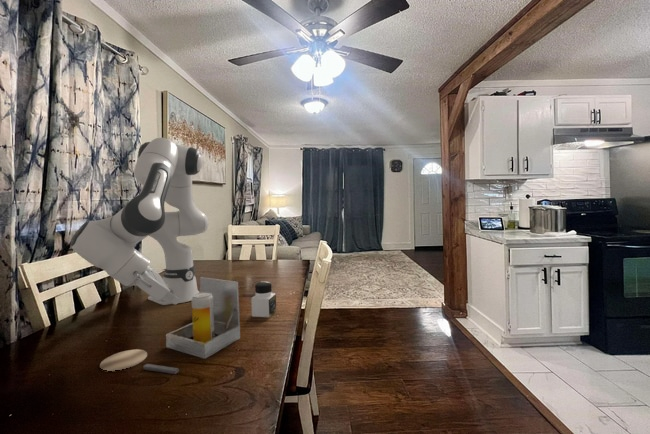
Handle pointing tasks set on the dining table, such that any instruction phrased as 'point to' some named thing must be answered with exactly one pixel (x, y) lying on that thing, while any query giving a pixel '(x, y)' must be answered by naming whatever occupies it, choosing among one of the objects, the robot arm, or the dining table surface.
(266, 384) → the dining table surface
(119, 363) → the pad
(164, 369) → the bar
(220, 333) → the case
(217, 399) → the dining table surface
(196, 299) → the beer can
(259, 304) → the medicine bottle
